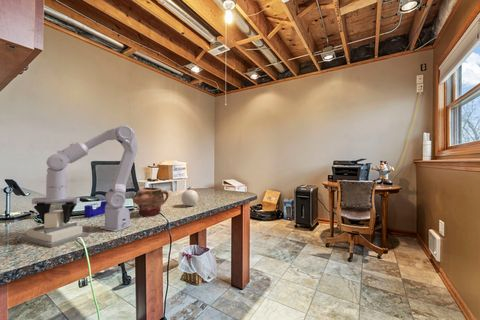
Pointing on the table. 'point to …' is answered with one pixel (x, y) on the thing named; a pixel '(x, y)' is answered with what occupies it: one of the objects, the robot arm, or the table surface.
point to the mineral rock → (56, 206)
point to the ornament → (189, 197)
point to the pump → (53, 219)
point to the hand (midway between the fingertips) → (56, 222)
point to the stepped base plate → (54, 234)
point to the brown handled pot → (150, 201)
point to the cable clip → (91, 213)
